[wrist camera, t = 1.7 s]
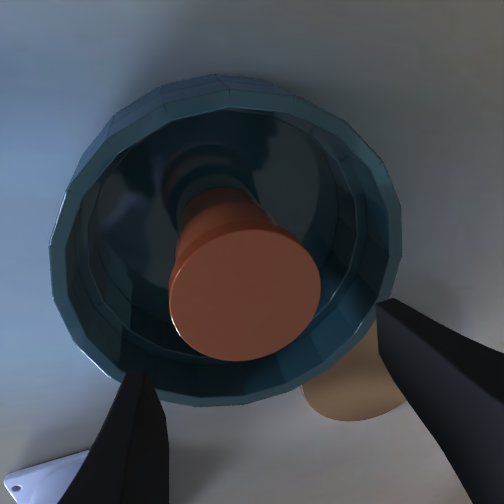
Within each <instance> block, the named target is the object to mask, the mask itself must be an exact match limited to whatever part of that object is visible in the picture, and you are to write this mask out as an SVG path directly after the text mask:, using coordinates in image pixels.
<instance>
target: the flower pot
mask: <svg viewBox="0 0 504 504" xmlns="http://www.w3.org/2000/svg"><path fill="white" fill-rule="evenodd" d="M177 234H178V239H177V242H176V246H175V250H174V267H173V270H172V273H171V276H170V280H169V288H168V295H169V307H170V314H171V318H172V322H173V324H174V326H175V328H176V330H177V332H178V333H179V335H180V336H181V337H182V338H183V339H184V341H185V342H186V343H188V344H189V345H190V346H191V347H192V348H194V349H195V350H197V351H198V352H200V353H202V354H204V355H207V356H209V357H212V358H215V359H220V360H227V361H246V360H253V359H257V358H261V357H264V356H267V355H270V354H272V353H274V352H276V351H278V350H280V349H282V348H284V347H285V346H287V345H288V344H290V343H291V342H292V341H294V340H295V339H296V338H297V337H298V336H299V335H300V334H301V333H302V332H303V331H304V330H305V329H306V327H307V326H308V324H309V323H310V322H311V320H312V318H313V316H314V314H315V312H316V310H317V307H318V304H319V300H320V294H321V279H320V275H319V271H318V268H317V265H316V263H315V261H314V260H313V258H312V256H311V255H310V253H309V252H308V250H307V249H306V247H305V246H304V245H303V244H302V242H301V241H300V240H299V239H298V238H297V237H296V236H295V235H293V234H292V233H290V232H289V231H287V230H286V229H284V228H282V227H281V226H280V224H279V223H278V221H277V220H276V219H275V218H274V217H273V216H272V215H271V214H270V213H268V212H267V211H265V210H264V209H262V208H261V206H260V204H259V203H258V202H257V201H256V200H255V199H254V198H253V197H252V196H251V195H249V194H248V193H246V192H244V191H242V190H239V189H236V188H231V187H218V188H212V189H209V190H206V191H204V192H202V193H200V194H198V195H197V196H195V197H194V198H193V199H192V200H191V201H190V202H189V203H188V204H187V205H186V206H185V208H184V209H183V211H182V213H181V215H180V218H179V221H178V227H177Z"/></svg>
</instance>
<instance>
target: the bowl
mask: <svg viewBox="0 0 504 504" xmlns="http://www.w3.org/2000/svg"><path fill="white" fill-rule="evenodd" d="M218 187H231V188H236V189H239V190H242V191H244V192H246V193H248V194H249V195H251V196H252V197H253V198H254V199H255V200H256V201H257V202H258V203H259V204H260V206H261V208H262V209H264V210H265V211H267V212H268V213H270V214H271V215H272V216H273V217H274V218H275V219H276V220H277V221H278V223H279V224H280V226H281V227H282V228H284V229H286V230H287V231H289V232H290V233H292V234H293V235H295V236H296V237H297V238H298V239H299V240H300V241H301V242H302V244H303V245H304V246H305V247H306V249H307V250H308V252H309V253H310V255H311V256H312V258H313V260H314V261H315V263H316V265H317V268H318V271H319V275H320V279H321V294H320V300H319V304H318V307H317V310H316V312H315V314H314V316H313V318H312V320H311V322H310V323H309V324H308V326H307V327H306V329H305V330H304V331H303V332H302V333H301V334H300V335H299V336H298V337H297V338H296V339H295V340H294V341H292V342H291V343H290V344H288V345H287V346H285V347H284V348H282V349H280V350H278V351H276V352H274V353H272V354H270V355H267V356H264V357H261V358H257V359H253V360H246V361H227V360H220V359H215V358H212V357H209V356H207V355H204V354H202V353H200V352H198V351H197V350H195V349H194V348H192V347H191V346H190V345H189V344H188V343H186V342H185V341H184V339H183V338H182V337H181V336H180V335H179V333H178V332H177V330H176V328H175V326H174V324H173V322H172V318H171V314H170V307H169V295H168V288H169V280H170V276H171V273H172V270H173V267H174V250H175V246H176V242H177V239H178V234H177V227H178V221H179V218H180V215H181V213H182V211H183V209H184V208H185V206H186V205H187V204H188V203H189V202H190V201H191V200H192V199H193V198H194V197H195V196H197V195H198V194H200V193H202V192H204V191H206V190H209V189H212V188H218ZM401 257H402V228H401V205H400V203H399V200H398V198H397V195H396V193H395V190H394V188H393V185H392V183H391V180H390V178H389V175H388V173H387V170H386V167H385V165H384V162H383V161H382V159H381V158H380V157H379V156H378V155H377V154H376V153H375V152H374V151H373V150H372V149H371V148H370V146H369V145H368V144H367V143H366V142H365V141H364V140H363V139H362V138H361V137H360V136H359V135H358V133H357V132H356V131H355V130H354V129H353V128H352V127H351V126H350V125H349V124H348V123H347V122H345V120H343V119H341V118H339V117H337V116H335V115H333V114H331V113H329V112H327V111H325V110H324V109H322V108H320V107H318V106H316V105H314V104H312V103H310V102H308V101H306V100H304V99H302V98H300V97H298V96H296V95H294V94H292V93H290V92H288V91H286V90H284V89H282V88H280V87H278V86H276V85H274V84H272V83H270V82H268V81H264V80H261V79H253V78H244V77H236V76H227V75H218V74H213V75H212V74H210V75H205V76H201V77H197V78H192V79H188V80H183V81H179V82H174V83H170V84H165V85H162V86H161V87H157V88H156V89H154V90H152V91H151V92H149V93H148V94H146V95H144V96H143V97H141V98H140V99H138V100H136V101H135V102H133V103H132V104H130V105H128V106H127V107H125V108H124V109H122V110H120V111H119V112H117V113H116V114H115V115H113V117H112V118H111V119H110V120H109V122H108V123H107V124H106V125H105V127H104V128H103V129H102V130H101V132H100V133H99V134H98V136H97V137H96V138H95V139H94V141H93V142H92V143H91V144H90V146H89V147H88V148H87V149H86V151H85V152H84V153H83V155H82V157H81V159H80V161H79V163H78V166H77V168H76V170H75V172H74V174H73V176H72V178H71V181H70V183H69V185H68V187H67V189H66V191H65V195H64V198H63V201H62V204H61V207H60V210H59V213H58V217H57V220H56V223H55V226H54V229H53V232H52V235H51V238H50V242H49V258H50V271H51V285H52V297H53V300H54V302H55V304H56V306H57V308H58V311H59V313H60V315H61V317H62V319H63V321H64V323H65V325H66V327H67V329H68V331H69V333H70V335H71V337H72V340H73V342H74V343H75V345H76V346H77V347H78V348H79V349H80V350H81V351H82V352H83V353H84V354H85V355H87V356H88V357H89V358H90V359H91V360H92V361H93V362H94V363H95V364H96V365H97V366H98V367H99V368H100V369H101V370H102V371H103V372H104V373H105V374H106V375H107V376H108V377H110V378H112V379H114V380H116V381H118V382H120V383H121V382H122V380H123V377H124V376H125V374H126V373H129V372H132V371H136V370H140V369H143V368H147V370H148V373H149V375H150V378H151V380H152V383H153V385H154V388H155V391H156V393H157V396H158V398H159V400H162V401H167V402H172V403H178V404H183V405H188V406H193V407H212V406H230V405H244V404H249V403H252V402H255V401H259V400H262V399H266V398H269V397H272V396H276V395H279V394H283V393H286V392H289V391H291V390H293V389H295V388H297V387H299V386H300V385H302V384H304V383H306V382H307V381H309V380H311V379H313V378H315V377H316V376H318V375H320V374H322V373H323V372H325V371H327V370H329V369H330V368H331V367H332V366H334V365H335V364H336V363H337V362H338V361H339V360H340V359H341V358H342V357H343V356H344V355H345V354H346V353H348V352H349V351H350V350H351V349H352V348H353V347H354V346H355V345H356V344H357V343H358V342H359V341H361V340H362V339H363V337H364V336H365V335H366V334H367V332H368V330H369V329H370V327H371V326H372V324H373V323H374V321H375V320H376V306H375V303H378V302H382V301H385V300H388V298H389V297H390V293H391V290H392V287H393V283H394V280H395V277H396V273H397V270H398V267H399V263H400V260H401Z"/></svg>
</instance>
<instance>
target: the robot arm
mask: <svg viewBox="0 0 504 504" xmlns="http://www.w3.org/2000/svg"><path fill="white" fill-rule="evenodd" d="M375 306H376V322H377V338H378V353H379V355H380V357H381V359H382V361H383V363H384V365H385V367H386V369H387V370H388V372H389V374H390V376H391V378H392V379H393V381H394V383H395V384H396V385H397V387H398V388H399V390H400V391H401V393H402V394H403V395H404V397H405V398H406V400H407V401H408V402H409V404H410V405H411V407H412V408H413V409H414V411H415V412H416V413H417V415H418V416H419V418H420V419H421V420H422V422H423V423H424V425H425V426H426V427H427V429H428V430H429V432H430V433H431V434H432V436H433V437H434V438H435V440H436V441H437V443H438V444H439V446H440V448H441V449H442V451H443V452H444V454H445V455H446V457H447V459H448V461H449V462H450V464H451V466H452V467H453V469H454V471H455V473H456V474H457V476H458V478H459V480H460V481H461V483H462V485H463V487H464V488H465V490H466V492H467V494H468V496H469V497H470V499H471V501H472V503H473V504H504V353H501V352H499V351H496V350H494V349H491V348H489V347H486V346H484V345H482V344H480V343H478V342H475V341H473V340H471V339H469V338H467V337H465V336H463V335H461V334H459V333H457V332H455V331H453V330H451V329H449V328H447V327H445V326H443V325H441V324H439V323H437V322H436V321H434V320H432V319H430V318H428V317H427V316H425V315H423V314H421V313H419V312H418V311H416V310H414V309H412V308H411V307H409V306H407V305H405V304H404V303H402V302H400V301H398V300H396V299H395V298H392V299H389V300H385V301H382V302H378V303H375ZM4 485H5V487H6V488H7V489H8V491H9V492H10V494H11V495H12V496H13V498H14V499H15V501H16V502H17V503H18V504H169V442H168V433H167V425H166V417H165V413H164V411H163V408H162V406H161V403H160V401H159V398H158V396H157V393H156V391H155V388H154V385H153V383H152V380H151V378H150V375H149V373H148V370H147V368H143V369H140V370H136V371H132V372H129V373H126V374H125V376H124V377H123V380H122V382H121V385H120V387H119V390H118V392H117V395H116V397H115V399H114V402H113V404H112V406H111V408H110V411H109V413H108V415H107V417H106V419H105V421H104V423H103V426H102V428H101V430H100V432H99V434H98V436H97V438H96V440H95V442H94V443H93V445H92V447H91V449H90V450H87V451H83V452H80V453H77V454H73V455H70V456H66V457H63V458H60V459H56V460H53V461H49V462H46V463H43V464H39V465H36V466H32V467H29V468H26V469H22V470H19V471H15V472H12V473H9V474H7V475H6V477H5V480H4Z"/></svg>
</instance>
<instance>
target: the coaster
mask: <svg viewBox="0 0 504 504" xmlns="http://www.w3.org/2000/svg"><path fill="white" fill-rule="evenodd" d="M300 386H301V389H302V392H303V395H304V397H305V399H306V401H307V402H308V404H309V405H310V406H311V407H312V408H313V409H314V410H315V411H316V412H318V413H319V414H321V415H323V416H325V417H327V418H330V419H333V420H339V421H360V420H366V419H370V418H374V417H376V416H379V415H382V414H384V413H386V412H389V411H390V410H392V409H394V408H396V407H397V406H399V405H400V404H402V403H403V402H405V401H406V398H405V397H404V395H403V394H402V393H401V391H400V390H399V388H398V387H397V385H396V384H395V383H394V381H393V379H392V378H391V376H390V374H389V372H388V370H387V369H386V367H385V365H384V363H383V361H382V359H381V357H380V355H379V353H378V338H377V322H376V320H375V321H374V323H373V324H372V326H371V327H370V329H369V330H368V332H367V334H366V335H365V336H364V337H363V339H362V340H361V341H359V342H358V343H357V344H356V345H355V346H354V347H353V348H352V349H351V350H350V351H349V352H348V353H346V354H345V355H344V356H343V357H342V358H341V359H340V360H339V361H338V362H337V363H336V364H335V365H334V366H332V367H331V368H330V369H329V370H327V371H325V372H323V373H322V374H320V375H318V376H316V377H315V378H313V379H311V380H309V381H307V382H306V383H304V384H302V385H300Z"/></svg>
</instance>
